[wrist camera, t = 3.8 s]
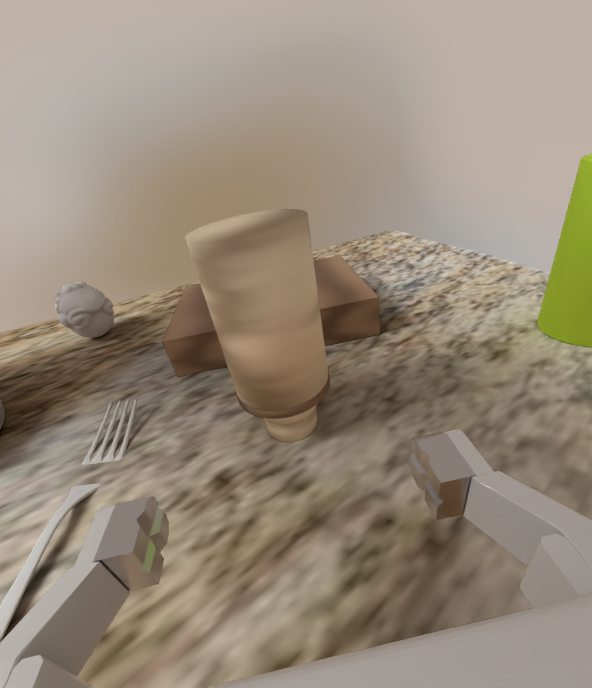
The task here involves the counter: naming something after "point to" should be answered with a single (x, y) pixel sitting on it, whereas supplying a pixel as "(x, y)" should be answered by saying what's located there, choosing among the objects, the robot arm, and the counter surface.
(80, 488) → the fork
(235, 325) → the maple leg
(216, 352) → the walnut board
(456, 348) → the counter surface
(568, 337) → the soap dispenser
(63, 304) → the frog figurine
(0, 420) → the dish
